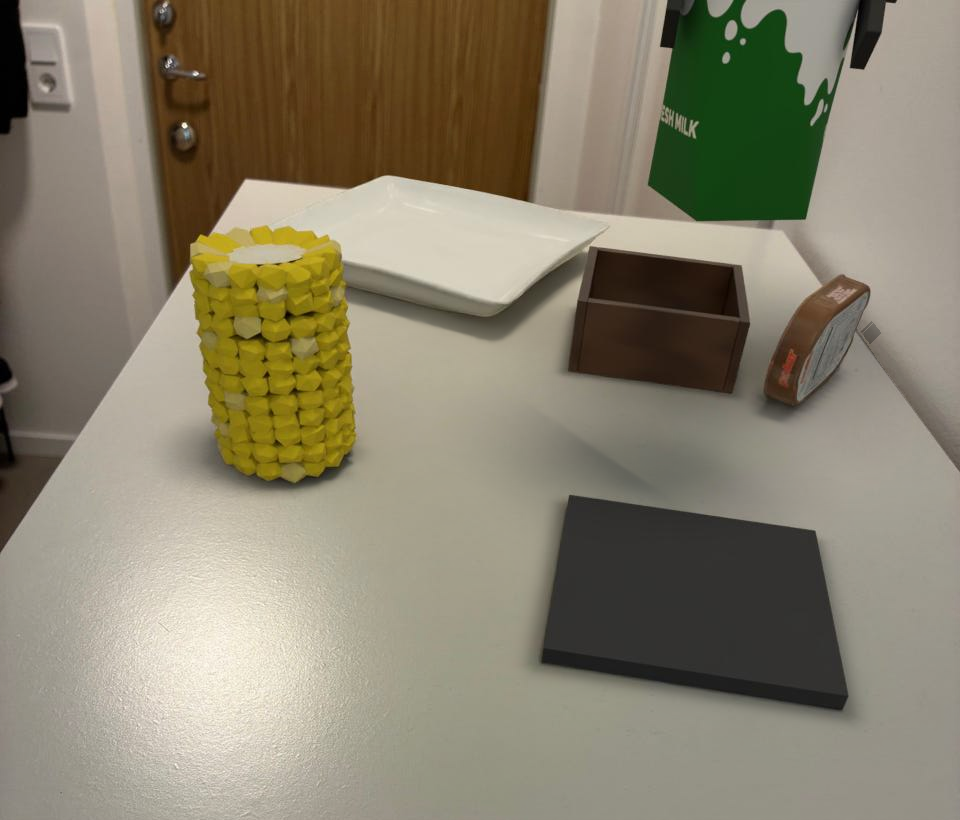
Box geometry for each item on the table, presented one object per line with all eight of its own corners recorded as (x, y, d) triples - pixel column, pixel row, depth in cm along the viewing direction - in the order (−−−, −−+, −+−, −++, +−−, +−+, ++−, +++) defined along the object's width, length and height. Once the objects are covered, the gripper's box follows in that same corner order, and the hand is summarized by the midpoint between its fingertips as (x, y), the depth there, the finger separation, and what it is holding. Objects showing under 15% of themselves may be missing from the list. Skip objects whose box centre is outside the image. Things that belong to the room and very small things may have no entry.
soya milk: (627, 181, 61) (696, -255, 48) (757, 181, 63) (856, -235, 50) (688, 228, 54) (786, -261, 42) (830, 225, 57) (964, -239, 44)
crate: (726, 330, 91) (741, 265, 87) (732, 393, 80) (750, 322, 77) (580, 311, 92) (589, 245, 88) (567, 371, 81) (577, 299, 78)
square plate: (384, 205, 112) (385, 169, 110) (609, 257, 104) (614, 219, 102) (240, 273, 93) (236, 230, 90) (501, 343, 85) (505, 298, 82)
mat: (811, 543, 64) (815, 530, 63) (843, 709, 52) (848, 695, 51) (567, 507, 65) (568, 494, 64) (541, 661, 53) (543, 647, 52)
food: (266, 522, 64) (204, 459, 70) (416, 444, 68) (344, 392, 74) (183, 301, 53) (119, 251, 59) (366, 224, 57) (288, 185, 63)
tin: (818, 355, 88) (848, 260, 82) (852, 366, 87) (884, 270, 81) (751, 412, 78) (780, 308, 73) (788, 425, 77) (820, 320, 71)
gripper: (1004, -260, 55) (954, 111, 53) (617, -293, 57) (555, 65, 55) (1075, -416, 48) (1021, 9, 46) (627, -447, 50) (556, -40, 48)
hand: (766, 40), depth 51 cm, fingers closed on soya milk, 9 cm apart
